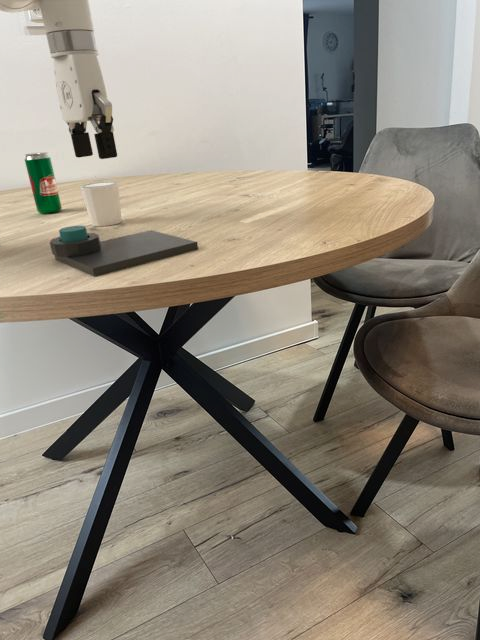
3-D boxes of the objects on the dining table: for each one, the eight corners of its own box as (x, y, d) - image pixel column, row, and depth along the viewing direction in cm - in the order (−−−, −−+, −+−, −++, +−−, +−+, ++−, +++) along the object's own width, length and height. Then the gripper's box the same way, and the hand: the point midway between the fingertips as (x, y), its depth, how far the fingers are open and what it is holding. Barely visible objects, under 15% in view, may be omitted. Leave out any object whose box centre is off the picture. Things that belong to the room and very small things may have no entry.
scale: (89, 278, 64) (83, 255, 63) (48, 260, 74) (43, 239, 72) (198, 249, 74) (195, 229, 73) (149, 236, 83) (146, 218, 82)
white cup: (109, 217, 101) (102, 180, 97) (132, 220, 97) (126, 182, 94) (79, 225, 96) (71, 186, 93) (103, 228, 92) (95, 187, 89)
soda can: (47, 215, 108) (32, 154, 103) (32, 213, 110) (18, 154, 105) (67, 210, 112) (54, 151, 106) (52, 209, 114) (39, 151, 109)
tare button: (67, 245, 70) (64, 232, 69) (57, 241, 72) (54, 229, 72) (92, 240, 72) (90, 227, 71) (81, 236, 74) (79, 224, 74)
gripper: (31, 53, 88) (57, 158, 95) (72, 39, 76) (97, 161, 83) (73, 52, 92) (94, 153, 99) (118, 39, 80) (138, 155, 88)
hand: (96, 157), depth 91 cm, fingers open, 9 cm apart
